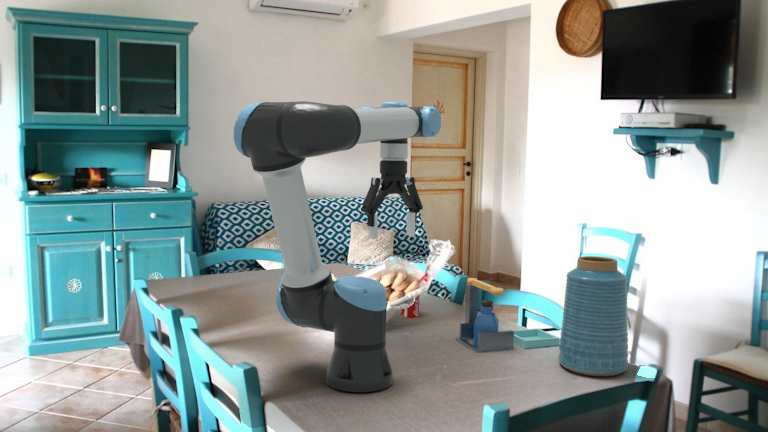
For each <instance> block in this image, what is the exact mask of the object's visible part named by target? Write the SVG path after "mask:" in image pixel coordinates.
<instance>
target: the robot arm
mask: <svg viewBox="0 0 768 432" xmlns="http://www.w3.org/2000/svg"><path fill="white" fill-rule="evenodd" d="M441 126H442V116H441V114H440V111H439V109H438V108H437V107H435V106H426V105H423V106H408V104H407V103H406V102H400V101H399V102H397V101H391V102H390V101H385V102H382V103H381V104H380V107H373V106H362V107H360V108H355V109H354V108H353V107H351V106H349V105H347V104H346V105H345V104H327V103H321V102H315V101H314V102H313V101H262V102H257V103H251V104H249V105H246V106H245V107H244V108H243V109H242V110H240V112H239V114H238V116H237V120H235V121H234V127H233V142H234V146H235V148H236V150H237V151H238V152H239V153H241V155H242V156H244V157H246V158H250V162H251V166H252V170H253V171H254V172H255V173H256V174H259V175H260V176H261V177H262V182H263V185H264V189H265V194H266V196H267V201H268V205H269V209H270V213H271V216H272V217H271V218H272V222H273V225H274V229H275V230H274V231H275V233H276V238H277V241H278V246H279V249H280V253H281V258H282V261H283V266H284V269H285V271H284V273H283V274H282V275H281V277H280V280H281V281H280V283H279V284H278V286H277V290H276V291H277V294H276V295H275V305H276V308H277V311H278V313H279V315H280V316H281V318H282V319H283V320H284V321H286V322H287V323H289V324H292V325H294V326H297V327H301V328H310V329H316V330H320V331H325V332H330V333H334V335H333V337H334V338H333V339H334V344H333V345H334V346H333V347H334V349H333V350H332V353H331V357H330V360H329V362H328V365H327V369H326V372H325V378H326V379H325V382H326V384H327V385H328V386H329V387H331V388H333V389H336V390H338V391H339V390H340V391H343V392H348V393H349V392H351V393H367V392H368V393H370V392H377V391H381V390H384V389H387V388H389V387H390V386H392V384H393V382H394V381H393V380H394V373H393V369H392V366H391V363H390V359H389V355H388V353H387V350H386V349H387V348H386V346H387V344H386V343H387V341H386V340H387V339H386V337H387V307H388V300H387V289H386V288H385V286H384V284H382V283H381V282H380V281H377V280H375V279H373V278H369V277H364V276H355V275H343V276H342V275H341V276H339V277H337V278H336V279H335V280H333V276H332V271H331V268H330V266H329V265H328V264H326V263H324V262H323V261H322V257H321V251H320V248H319V244H318V239H317V236H316V230H315V226H314V222H313V221H314V220H313V216H312V212H311V208H310V203H309V198H308V194H307V189H306V185H305V181H304V176H303V172H302V166H303V165H304V163H305V161H306V160H307V158H314V157H319V156H323V155H328V154H333V153H338V152H343V151H344V152H345V151H348V150H350V149H353V148H354V147H355V146H357V145H359V144H361V145H362V144H368V143H377V142H380V143H379V145H380V147H379V149H380V151H379V158H381V159H382V160H381V159H380V161H379V173H380V177H375V176H374V177H371V179H370V180H371V181H370V185H369V188H368V191H367V194H366V195H365V198H364V201H363V203H362V206H361V208H360V210H361V213H364V214H366V215H367V216H366V217H367V218H366V220H367V221H366V223H367V227H368V239H370V240H372V239H373V240H378V229H379V225H378V219H379V217H378V216H379V215H378V214H376V213H377V212H378V210H379V208H380V206H381V205H382V204H383V202H384V201H385V199H386V198H387V196H389V195H394V194H395V195H399V197H400V198H401V200H402V202H403V203H404V205H405V206H406V208H407V209H408V211H406V236H410V237H415V236H416V224H417V221H418V220H417V219H418V218H417V217H418V216H417V214H418V213H420V211H423V209H424V207H423V204H422V202H421V199H420V195H419V192H418V189H417V187H416V180H415V177H412V176H406V175H407V174H408V161H407V159H408V157H409V156H408V153H409V151H408V150H409V149H408V147H409V145H408V143H409V141H408V139H410V138H432V137H436V136H438V134H439V133H440V130H441V128H442V127H441Z"/></svg>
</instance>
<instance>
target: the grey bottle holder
mask: <svg viewBox="0 0 768 432" xmlns="http://www.w3.org/2000/svg"><path fill="white" fill-rule="evenodd" d="M478 299H479V288H478V287H476V286H473V285H468V284H465V307H464V308H465V312H464V313H465V314H464V317H465V318H464V322H459V330H458V331H459V335H458V336H457V337H455V341H456V342H458V343H459V344H461V345H462V346H464V347H465V348H467V349H470V350H471V351H473V352H474V353H484V352H493V351H494V352H495V351H503V350H504V351H505V350H506V351H507V350H513V349H514V344H513V343H514V331H513V329H511V330H510V329H509V330H498V331H495V332H482V333H478V347H475V346H474V345H473V344H472V343H470V342H468V341H470V340H469V339H474V323H475V320H476V318H477V316H478V309H479V307H478V306H479V303H478V301H479V300H478Z"/></svg>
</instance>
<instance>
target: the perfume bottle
mask: <svg viewBox="0 0 768 432" xmlns="http://www.w3.org/2000/svg"><path fill="white" fill-rule="evenodd" d="M480 302H481V305H480V308H479V310H480V311H479V312H478V313H477V318H476V320H475V323H474V340H472V341H473V342H472V343H473V344H472V345H474V346H475V347H477V348H478V333H482V332H495V331H499V319H498V317H497V315H496V313H495V312H493V311H494V305H493V304H494V302H493V300H488V299H487V300H486V299H483V300H481V301H480Z"/></svg>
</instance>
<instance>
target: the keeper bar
mask: <svg viewBox="0 0 768 432" xmlns="http://www.w3.org/2000/svg"><path fill="white" fill-rule="evenodd" d="M466 283H467V284H466V285H473V286H476V287H478V289H481V290H484V291H486V292H488V293H490V295H493V296H503V295H504V288H502V287H496V286H494V285H491V284H489V283H486V282H484V281H481V280H478V278H476V277H468V278H467V279H466Z"/></svg>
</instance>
